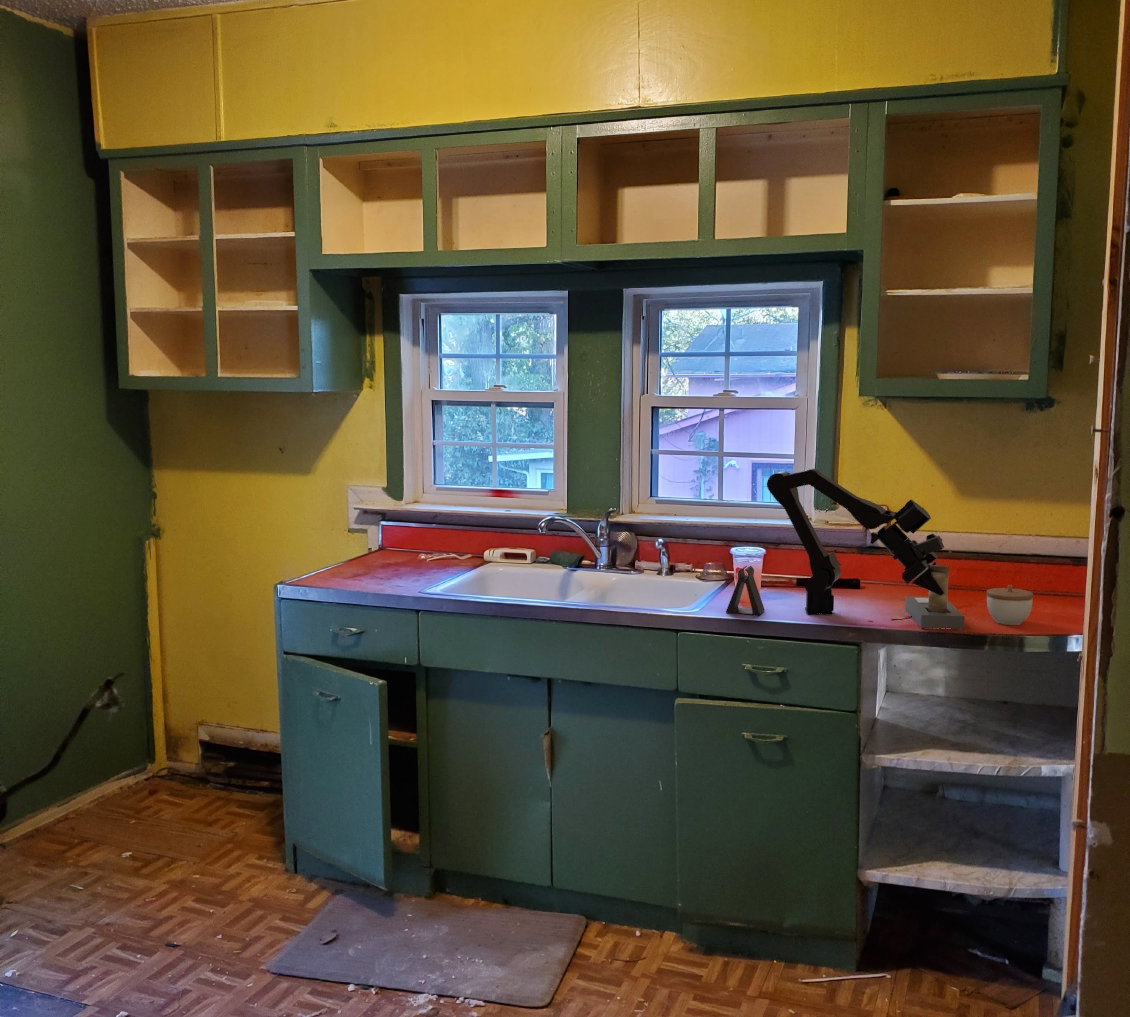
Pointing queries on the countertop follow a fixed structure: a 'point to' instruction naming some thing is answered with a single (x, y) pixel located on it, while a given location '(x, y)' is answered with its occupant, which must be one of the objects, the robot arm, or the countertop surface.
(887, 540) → the robot arm
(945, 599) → the maple plug
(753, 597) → the dark a-frame stand
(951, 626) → the grey slotted base
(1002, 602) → the lidded jar
